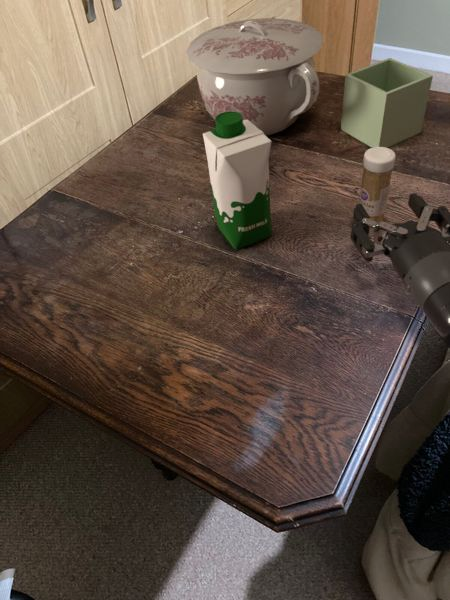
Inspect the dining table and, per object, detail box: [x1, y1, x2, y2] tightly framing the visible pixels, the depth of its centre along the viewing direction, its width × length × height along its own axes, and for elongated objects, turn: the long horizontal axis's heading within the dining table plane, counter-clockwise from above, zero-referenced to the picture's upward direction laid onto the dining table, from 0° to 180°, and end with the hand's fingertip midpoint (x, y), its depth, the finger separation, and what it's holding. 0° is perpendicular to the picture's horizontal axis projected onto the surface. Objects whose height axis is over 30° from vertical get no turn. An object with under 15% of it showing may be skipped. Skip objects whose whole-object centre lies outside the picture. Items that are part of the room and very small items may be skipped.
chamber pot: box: [185, 17, 324, 137], centre depth 103 cm, size 28×28×21 cm
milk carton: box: [202, 111, 273, 251], centre depth 77 cm, size 9×9×20 cm
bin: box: [340, 57, 434, 148], centre depth 98 cm, size 11×11×12 cm
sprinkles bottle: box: [357, 147, 396, 231], centre depth 78 cm, size 5×5×13 cm
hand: (384, 203), depth 76 cm, fingers open, 8 cm apart
